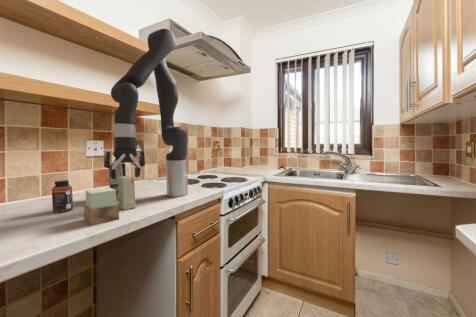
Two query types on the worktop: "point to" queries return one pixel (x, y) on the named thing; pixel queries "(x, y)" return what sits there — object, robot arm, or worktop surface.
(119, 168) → the coffee box
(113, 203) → the green block
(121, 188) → the skincare box
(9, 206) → the worktop surface
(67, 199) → the supplement bottle
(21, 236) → the worktop surface
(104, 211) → the walnut block
